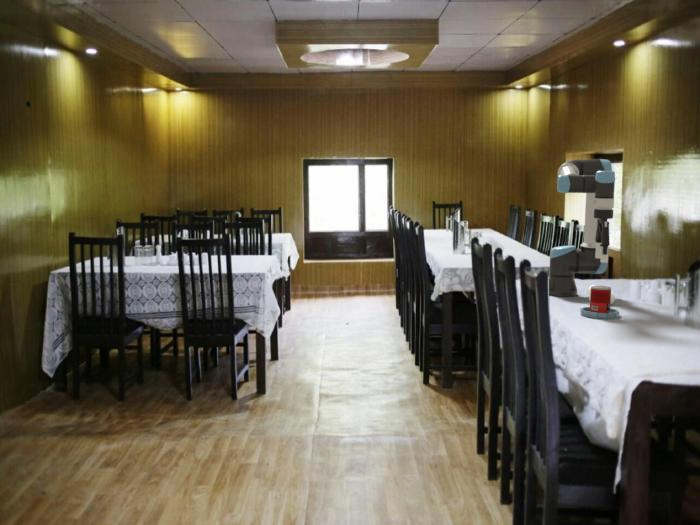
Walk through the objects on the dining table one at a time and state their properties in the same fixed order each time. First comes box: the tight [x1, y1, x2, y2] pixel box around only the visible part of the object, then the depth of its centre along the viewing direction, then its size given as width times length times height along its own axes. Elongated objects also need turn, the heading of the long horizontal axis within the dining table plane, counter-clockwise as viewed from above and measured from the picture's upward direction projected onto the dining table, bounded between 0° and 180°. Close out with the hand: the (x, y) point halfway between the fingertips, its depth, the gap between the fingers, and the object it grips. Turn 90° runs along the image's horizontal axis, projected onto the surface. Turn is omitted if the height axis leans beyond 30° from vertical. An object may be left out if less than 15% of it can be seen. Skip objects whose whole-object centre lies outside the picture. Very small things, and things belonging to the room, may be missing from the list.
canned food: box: [589, 285, 612, 313], centre depth 319 cm, size 8×8×11 cm
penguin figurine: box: [587, 284, 616, 305], centre depth 345 cm, size 6×8×12 cm
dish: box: [579, 306, 620, 320], centre depth 319 cm, size 15×15×2 cm
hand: (601, 260), depth 318 cm, fingers open, 13 cm apart
